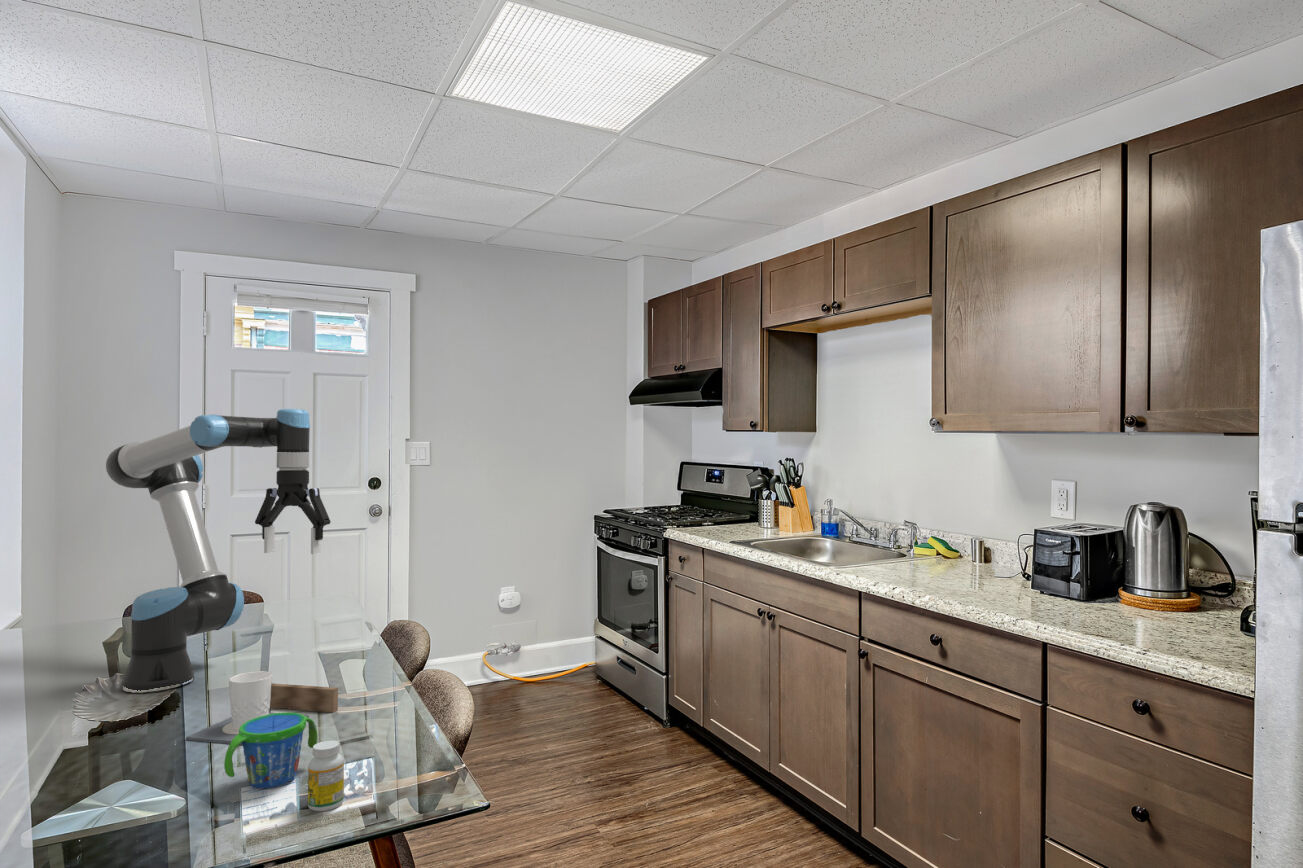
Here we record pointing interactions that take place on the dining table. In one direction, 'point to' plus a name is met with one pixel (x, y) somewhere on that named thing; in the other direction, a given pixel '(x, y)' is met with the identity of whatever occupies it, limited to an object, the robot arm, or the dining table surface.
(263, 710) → the white cup
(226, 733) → the slate mat
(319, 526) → the robot arm
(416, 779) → the dining table surface
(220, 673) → the dining table surface
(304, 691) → the low wall
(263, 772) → the snack cup
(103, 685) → the dining table surface
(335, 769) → the supplement bottle
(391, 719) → the dining table surface
